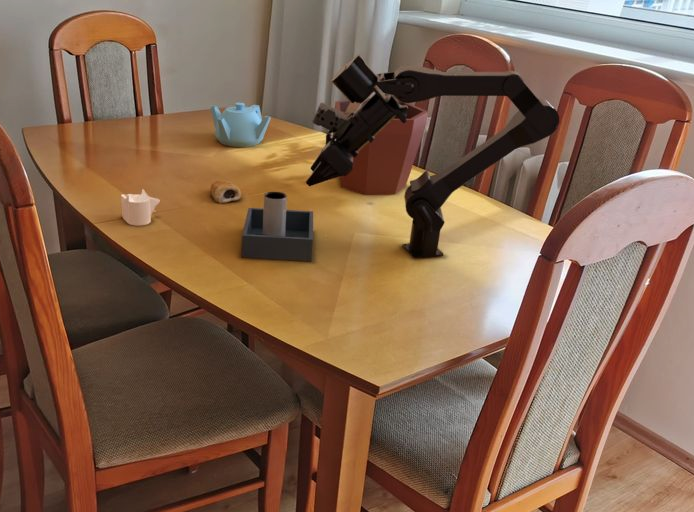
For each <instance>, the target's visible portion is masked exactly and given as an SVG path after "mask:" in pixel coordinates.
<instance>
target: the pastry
mask: <svg viewBox="0 0 694 512" xmlns="http://www.w3.org/2000/svg"><path fill="white" fill-rule="evenodd" d="M210 193H211V196H212V198H213V199H214V201H215V202H216V203H220V204H223V203H229V202H236V201H239V200H240V199H241V198H242V194H243V193H242V192H241V189H240V188H239V186H238V185H236V183H234V182H231V181H228V180H227V181H226V180H224V181H223V180H216V181H214V182H213V183H211V185H210Z"/></svg>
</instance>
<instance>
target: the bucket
mask: <svg viewBox="0 0 694 512" xmlns="http://www.w3.org/2000/svg"><path fill="white" fill-rule="evenodd" d="M377 88H378V87H377ZM378 89H379V88H378ZM379 90H380V89H379ZM374 94H375V92H373V93H372V94H371V95H370V96H369V97H368V98H367V99H366V100H365V101H364V102H362V103H361V104H360V103H356V102H354V103H351V102H350V101H349V100H348V99H344V100H337V101H335V102H334V108H335V109H337V110H339V111H340V112H342V113H344V114H346V115H347V116H348V115H349V114H350V113H351V112H352V111H353V112H354V111H355V112H356V111H357V110H359V109H360V108H361V107H362V106H363V105H364V104H365V103H366V102H367V101H368V100H369V99H370V98H371V97H372V96H373V95H374ZM392 96H393V97H394V99H395V100H396V101H397V102H398V103H399V104H400V105H407V106H408V110H407V113H406V123H402V122H401V121H400V119H399V118H398V117H397V116H396V117H395V118H394V119H393V120H392V121H391V122H389V123H388V124H387V125H386V126H385V127H384V128H383V129H382V130H381V131H380V132H379V133H378V134H377V135H376V136H375V139H374V140H373V141H372V142H371V143H370V142H368V143H367V144H366V145H365V146H364V147H363V148H362V149H361V150H360V151H358V152H359V154H358V155H357V156H356V157H355V158H354V157H353V156H352V155H351V154H350V155H351V156H352V157H353V158H354V160H353V170H352V171H351V172H350V173H349V174H348V175H346V176H342V177H339V179H340V180H339V182H340V188H342V189H346V190H349V191H351V192H355V193H358V194H362V195H365V196H371V195H376V196H377V195H396V194H397V193H399V192H400V191H402V190H403V189H405V187H406V186H407V183H408V180H409V177H410V174H411V172H412V168H413V165H414V162H415V160H416V157H417V153H418V150H419V147H420V144H421V142H422V139H423V135H424V132H425V130H426V126H427V123H428V115H429V111H428V110H425V109H424V108H421V107H419V106H416V105H414V104H412V103H403V102H401V101H399V100H398V99H397V98H396V97H395V95H392Z"/></svg>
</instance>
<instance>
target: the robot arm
mask: <svg viewBox="0 0 694 512" xmlns="http://www.w3.org/2000/svg"><path fill="white" fill-rule="evenodd" d="M330 82H331V83H332V84H333V85H334V86H335V88H337V89H338V90H339V91H340V93H341V94H343V96H344V97H345V98H346V100H349V101H350V102H351V103H354V102H356V103H360V104H361V103H362V102H364V101H365V100H366V99H367V98H368V97H369V96H370V95H371V94H372V93H373V92H375V93H374V94H373V95H371V97H370V99H369V100H368V101H367V102H366V103H365V104H364V105H363V106H362V107H361V108H360V109H359V110H357V111H356V112H355V111H354V112H353V111H352V112H351V113H350V114H349V115H348V116H347V115H346V114H344V113H342V112H340V111H339V110H337V109H335V107H332V106H331V105H328V104H326V103H324V102H320V103H319V105H318V107H317V110H316V112H315V114H314V116H313V118H312V124H314V125H315V126H318V127H319V126H320V127H322V128H324V129H326V130H328V131H327V132H326V135H325V145H324V147H322V148H321V150H320V153H319V154H318V156H317V157H316V158H315V160H314V162H313V164H312V165H310V170H311V174H310V175H309V177H308V178H307V179H306V181H305V184H306V186H308V187H313V186H315V185H318V184H322V183H324V182H327V181H330V180H334V179H337V178H340V177H342V176H346V175H348V174H349V173H350V172H351V171H352V170H353V160H354V158H355V157H356V156H357V155H358V154H359V152H358V151H360V150H361V149H362V148H363V147H364V146H365V145H366V144H367V143H368V142H370V143H371V142H372V141H373V140H374V139H375V136H376V135H377V134H378V133H379V132H380V131H381V130H382V129H383V128H384V127H385V126H386V125H387V124H388V123H389V122H391V121H392V120H393V119H394V118H395V117H396V116H397V117H398V118H399V119H400V121H401V122H402V123H406V113H407V110H408V106H407V105H400V104H399V103H398V102H397V101H396V100H395V99H394V97H393V95H395V97H396V98H397V99H398V100H399V101H401V102H403V103H410V104H412V103H418V102H424V101H428V100H431V99H435V98H439V97H447V96H448V97H507V98H508V99H509V100H510V102H511V103H512V104H513V105H514V106H515V107H516V108H517V110H518V111H517V112H516V113H514V115H513V116H512V118H511V119H509V121H508V123H507V124H506V125H505V127H503V128H502V129H501V130H500V131H498V132H497V133H495V134H494V135H492V136H491V137H490V138H488V139H487V140H485V141H484V142H483V143H481V144H479V145H478V146H477V147H476V148H474V149H472V150H471V151H470V152H468V153H467V154H466V155H464V156H462V157H461V158H460V159H458V160H456V161H455V162H454V163H452V164H451V165H450V166H449V167H447V168H446V169H444V170H443V171H441V172H439V173H436V174H432V175H430V173H429V170H424V171H423V173H421V175H419V176H418V177H417V178H415V179H413V180H409V185H408V187H406V189H405V191H404V194H403V195H404V196H403V199H404V205H405V206H404V207H405V212H406V213H407V215H408V216H409V218H411V219H412V222H411V229H410V236H409V242H408V243H402V245H401V247H402V248H403V249H404V250H405V251H406V252H407V253H408V254H409V255H410V256H411V257H412V258H414V259H425V258H437V257H444V252H442V250H440V249H439V243H440V242H439V241H440V237H441V230H442V228H443V227H444V225H445V219H444V215H443V211H442V206H443V205H444V204H445V203H446V202H447V200H448V199H449V197H450V196H451V195H452V194H453V193H454V192H455V191H456V190H458V189H460V188H461V187H463V186H464V185H465V184H467V183H468V182H470V181H471V180H472V179H474V178H476V177H477V176H479V175H480V174H481V173H483V172H484V171H486V170H487V169H489V168H491V167H492V166H494V165H495V164H496V163H498V162H499V161H500V160H502V159H504V158H505V157H506V156H508V155H509V154H511V153H512V152H513V151H515V150H518V149H519V148H523V147H526V146H530V145H533V144H535V143H538V142H540V141H542V140H544V139H547V138H548V137H550V136H552V135H553V134H554V133H555V132H556V131H557V130H558V128H559V124H560V114H559V113H558V111H557V110H556V109H555V107H554V106H553V105H552V104H551V103H550V102H549V101H548V100H546V99H544V98H538V97H537V96H536V94H535V93H533V92H532V90H531V89H530V88H529V87H528V85H526V83H525V82H524V79H523V78H522V76H521V75H520V74H519V73H518V72H516V71H515V70H506V71H441V70H435V69H432V68H428V67H426V66H425V67H424V66H420V65H415V64H402V65H401V66H399V67H398V68H397V69H395V70H394V71H388V72H381V73H376V72H375V71H374V70H373V69H372V68H371V67H370V66H369V65H368V64H367V62H366V61H365V59H364V58H363V56H362V55H361V54H357V55H356V56H355V57H354V58H352V59H351V60H349V62H347V64H343V66H342V67H341V68H340V69H339V70H338V71H337V72H336V73H335V75H333V77H332V78H331V80H330ZM377 87H378V88H379V89H378V88H377ZM350 154H351V155H352V156H353V157H354V158H353V157H352V156H351V155H350Z"/></svg>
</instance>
